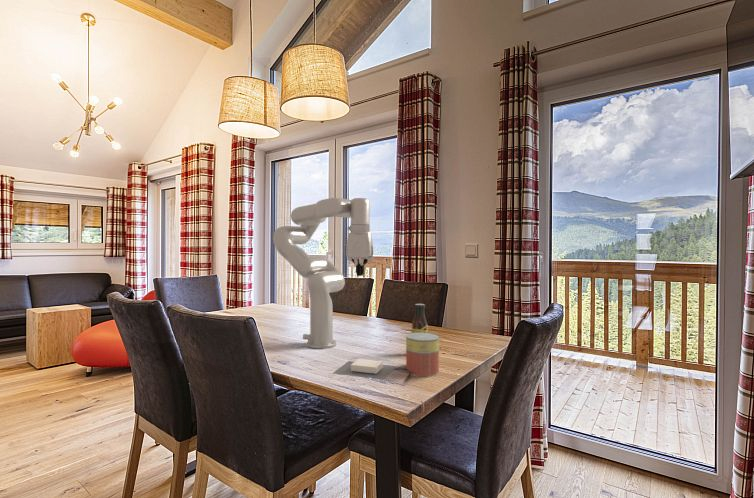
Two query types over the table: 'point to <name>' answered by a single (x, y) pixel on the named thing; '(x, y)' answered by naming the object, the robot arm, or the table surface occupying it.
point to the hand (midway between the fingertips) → (360, 275)
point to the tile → (367, 366)
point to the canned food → (422, 354)
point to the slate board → (380, 375)
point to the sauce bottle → (419, 320)
